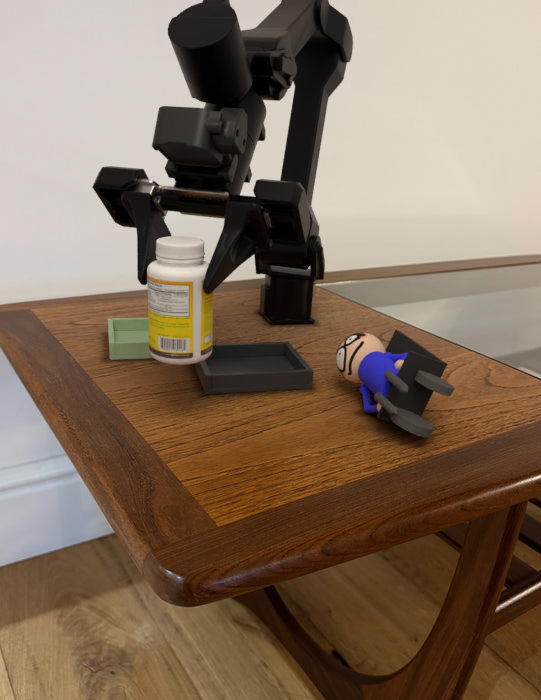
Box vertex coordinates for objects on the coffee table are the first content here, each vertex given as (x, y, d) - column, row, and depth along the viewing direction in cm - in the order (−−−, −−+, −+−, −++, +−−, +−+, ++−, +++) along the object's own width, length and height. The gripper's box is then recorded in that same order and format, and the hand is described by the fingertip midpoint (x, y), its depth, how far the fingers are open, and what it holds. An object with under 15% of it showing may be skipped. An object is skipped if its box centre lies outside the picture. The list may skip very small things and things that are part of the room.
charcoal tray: (287, 357, 72) (288, 341, 72) (312, 388, 64) (313, 370, 63) (192, 361, 69) (192, 344, 69) (205, 394, 61) (205, 375, 60)
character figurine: (386, 456, 52) (328, 387, 66) (464, 444, 54) (391, 379, 67) (391, 371, 49) (329, 317, 63) (472, 361, 51) (395, 310, 65)
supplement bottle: (195, 341, 58) (197, 232, 54) (223, 361, 54) (226, 244, 50) (139, 349, 55) (136, 235, 52) (163, 371, 51) (161, 249, 47)
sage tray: (197, 331, 80) (198, 316, 79) (209, 356, 71) (210, 339, 71) (108, 333, 77) (107, 318, 76) (109, 360, 68) (109, 343, 68)
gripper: (98, 66, 52) (25, 215, 46) (313, 75, 47) (262, 242, 41) (144, 159, 62) (89, 291, 56) (326, 173, 57) (286, 320, 51)
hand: (173, 286), depth 51 cm, fingers closed on supplement bottle, 5 cm apart
